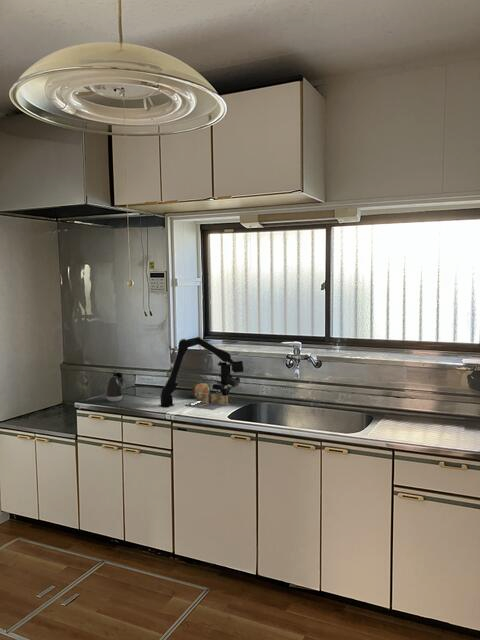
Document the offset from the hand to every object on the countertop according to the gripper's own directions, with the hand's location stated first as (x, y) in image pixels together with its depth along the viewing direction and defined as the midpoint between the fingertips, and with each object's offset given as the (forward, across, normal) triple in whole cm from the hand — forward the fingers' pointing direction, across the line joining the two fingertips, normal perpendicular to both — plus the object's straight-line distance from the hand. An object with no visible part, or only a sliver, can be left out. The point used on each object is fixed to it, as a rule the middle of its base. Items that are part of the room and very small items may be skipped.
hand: (225, 399), depth 324 cm
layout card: (+2, -9, +7) cm, 11 cm away
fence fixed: (+2, -5, +12) cm, 13 cm away
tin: (+3, +7, +24) cm, 25 cm away
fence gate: (+1, -5, +1) cm, 5 cm away
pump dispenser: (+3, -30, +62) cm, 68 cm away
